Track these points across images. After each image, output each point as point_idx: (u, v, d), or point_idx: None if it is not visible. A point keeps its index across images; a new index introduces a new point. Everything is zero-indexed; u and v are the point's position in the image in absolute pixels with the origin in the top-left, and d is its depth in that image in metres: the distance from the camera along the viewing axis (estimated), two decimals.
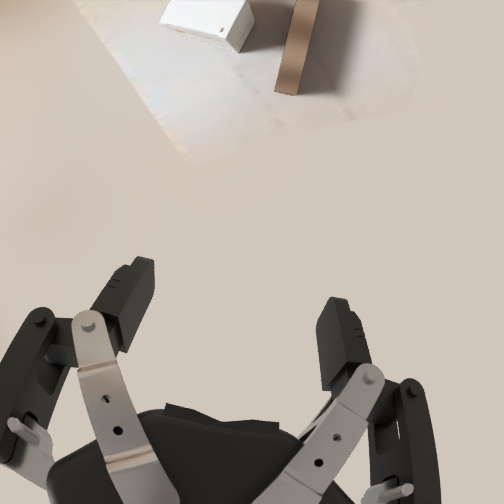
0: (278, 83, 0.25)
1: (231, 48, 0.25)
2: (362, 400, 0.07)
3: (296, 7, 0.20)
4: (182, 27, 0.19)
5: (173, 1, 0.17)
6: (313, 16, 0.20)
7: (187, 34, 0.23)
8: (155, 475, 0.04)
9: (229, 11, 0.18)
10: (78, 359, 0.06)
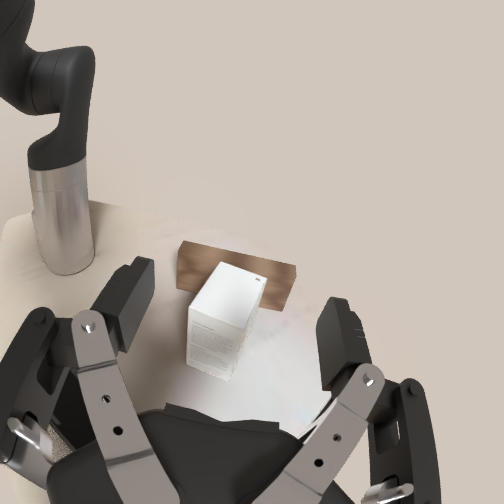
0: (289, 273, 0.36)
1: None
2: (362, 400, 0.07)
3: (214, 257, 0.36)
4: (252, 309, 0.25)
5: (215, 312, 0.23)
6: (222, 250, 0.37)
7: (243, 341, 0.27)
8: (155, 475, 0.04)
9: (236, 272, 0.29)
10: (78, 359, 0.06)
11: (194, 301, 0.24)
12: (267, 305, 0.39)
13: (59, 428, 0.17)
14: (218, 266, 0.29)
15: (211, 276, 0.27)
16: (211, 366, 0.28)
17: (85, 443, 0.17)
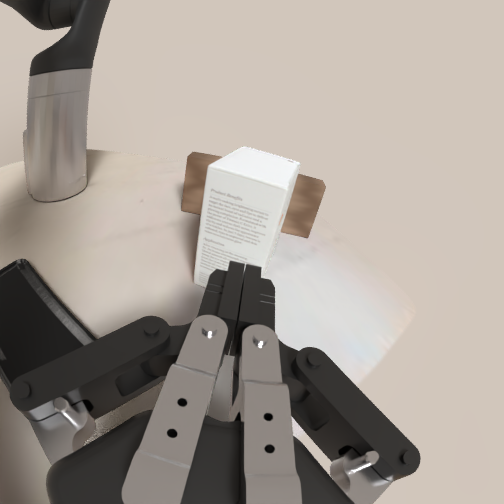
0: (318, 184, 0.30)
1: None
2: (266, 365, 0.08)
3: None
4: (291, 178, 0.19)
5: (245, 171, 0.17)
6: None
7: (276, 234, 0.20)
8: (155, 475, 0.04)
9: (263, 153, 0.22)
10: (180, 354, 0.07)
11: (215, 162, 0.18)
12: (291, 229, 0.33)
13: (2, 365, 0.10)
14: (241, 148, 0.22)
15: (234, 151, 0.21)
16: None
17: None
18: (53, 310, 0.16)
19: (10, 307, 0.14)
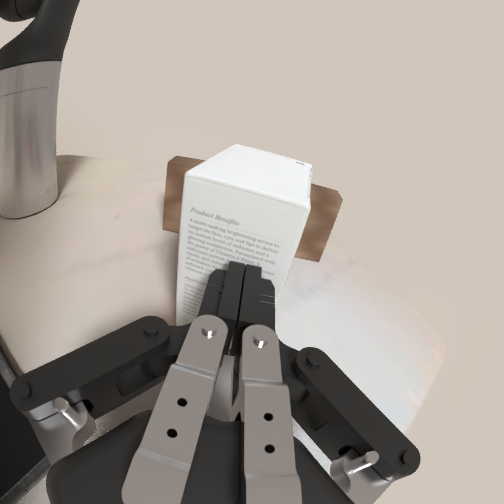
0: (333, 196, 0.23)
1: None
2: (266, 365, 0.08)
3: None
4: (309, 188, 0.13)
5: (242, 180, 0.11)
6: None
7: None
8: (155, 475, 0.04)
9: (264, 153, 0.16)
10: (180, 354, 0.07)
11: (196, 167, 0.12)
12: (298, 251, 0.27)
13: None
14: (233, 146, 0.16)
15: (224, 151, 0.15)
16: None
17: None
18: (0, 369, 0.09)
19: None
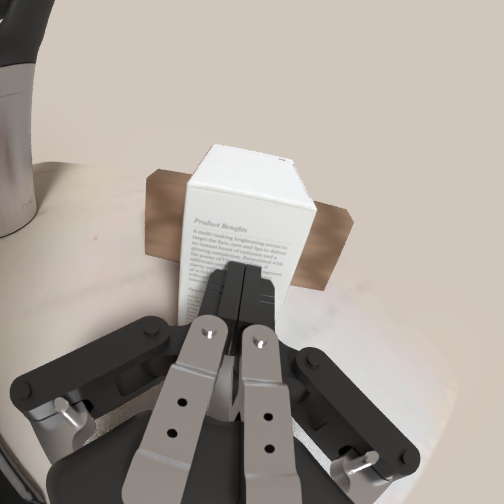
0: (343, 218, 0.20)
1: None
2: (266, 365, 0.08)
3: None
4: (303, 187, 0.13)
5: (247, 187, 0.11)
6: None
7: None
8: (155, 475, 0.04)
9: (246, 152, 0.16)
10: (180, 354, 0.07)
11: (195, 175, 0.11)
12: (300, 280, 0.23)
13: None
14: (214, 147, 0.16)
15: (209, 153, 0.14)
16: None
17: None
18: None
19: None
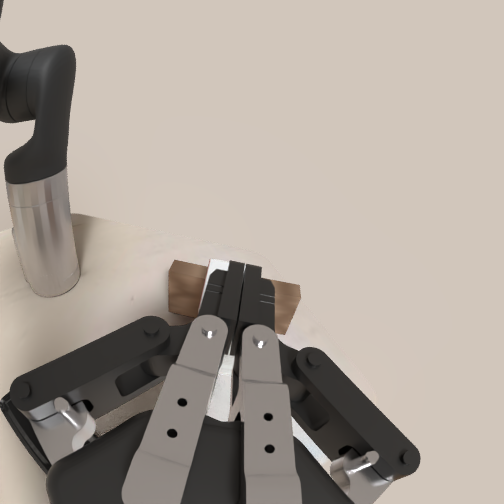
0: (293, 295, 0.32)
1: None
2: (266, 365, 0.08)
3: None
4: None
5: None
6: None
7: None
8: (155, 475, 0.04)
9: None
10: (180, 354, 0.07)
11: None
12: None
13: (47, 467, 0.12)
14: (210, 264, 0.28)
15: (208, 274, 0.27)
16: (223, 365, 0.27)
17: None
18: None
19: None
